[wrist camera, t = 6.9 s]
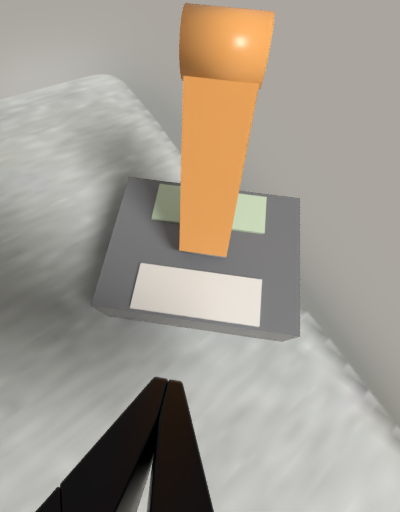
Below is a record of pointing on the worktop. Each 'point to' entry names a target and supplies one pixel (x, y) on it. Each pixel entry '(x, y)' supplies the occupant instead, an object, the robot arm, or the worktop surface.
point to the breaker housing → (204, 266)
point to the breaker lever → (217, 116)
